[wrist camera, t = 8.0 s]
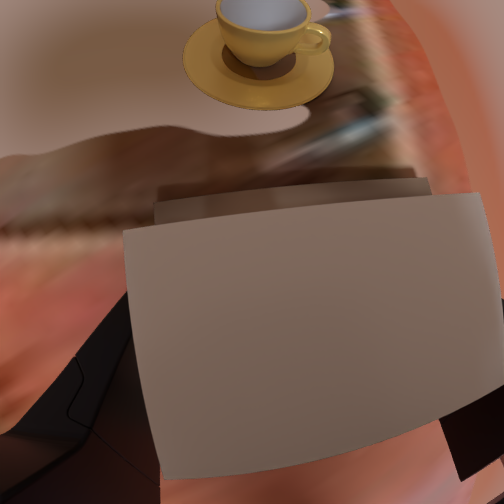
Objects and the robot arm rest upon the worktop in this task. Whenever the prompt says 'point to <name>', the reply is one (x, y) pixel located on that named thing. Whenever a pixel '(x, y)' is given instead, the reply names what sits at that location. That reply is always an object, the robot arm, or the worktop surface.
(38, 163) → the worktop surface
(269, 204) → the rack
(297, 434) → the clay block
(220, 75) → the cup
